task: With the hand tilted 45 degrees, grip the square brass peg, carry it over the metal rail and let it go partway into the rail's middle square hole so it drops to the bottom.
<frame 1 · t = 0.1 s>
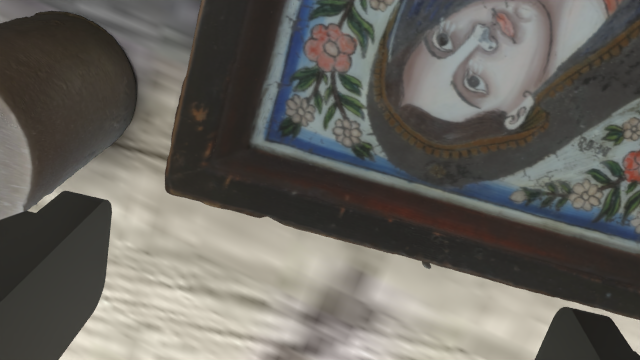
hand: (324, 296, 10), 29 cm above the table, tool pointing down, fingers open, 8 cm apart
pillar candle: (69, 86, 40), on the table
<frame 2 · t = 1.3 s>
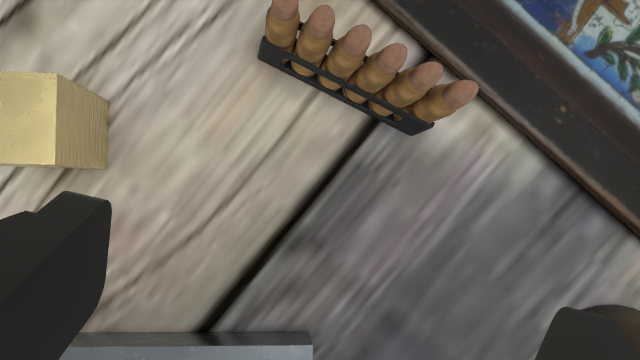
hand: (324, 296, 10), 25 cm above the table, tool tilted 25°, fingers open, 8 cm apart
brass peg: (72, 134, 35), on the table
ammunition clip: (341, 85, 36), on the table
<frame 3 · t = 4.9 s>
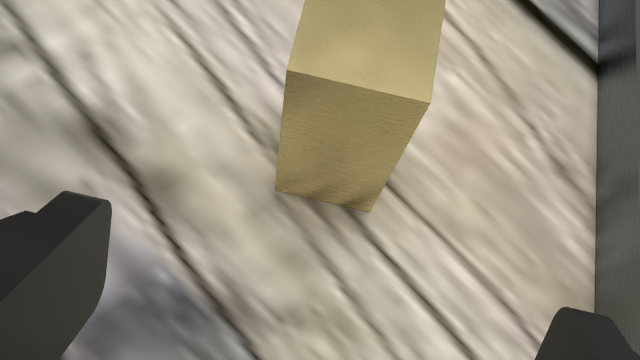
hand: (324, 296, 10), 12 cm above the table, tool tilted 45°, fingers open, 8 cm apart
brass peg: (331, 158, 25), on the table
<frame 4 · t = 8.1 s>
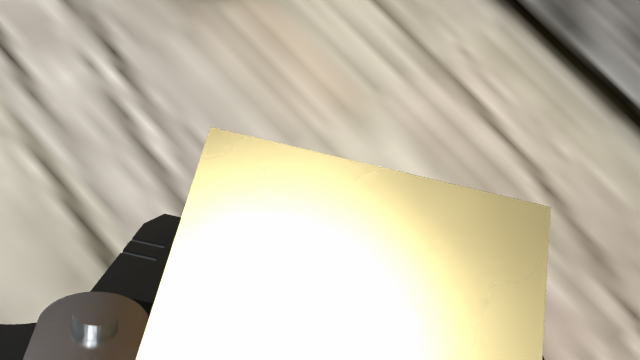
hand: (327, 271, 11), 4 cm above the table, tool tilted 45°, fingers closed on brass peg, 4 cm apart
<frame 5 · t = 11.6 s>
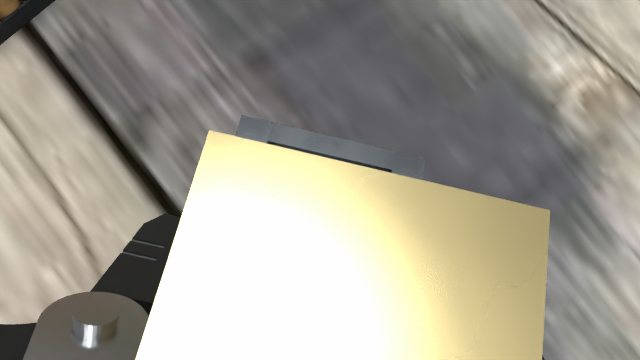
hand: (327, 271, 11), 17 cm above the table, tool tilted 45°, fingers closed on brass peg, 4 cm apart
when the fingers open (5 cm above the table, at t = 15.4 s): brass peg stays where it is, resting in rack rail.
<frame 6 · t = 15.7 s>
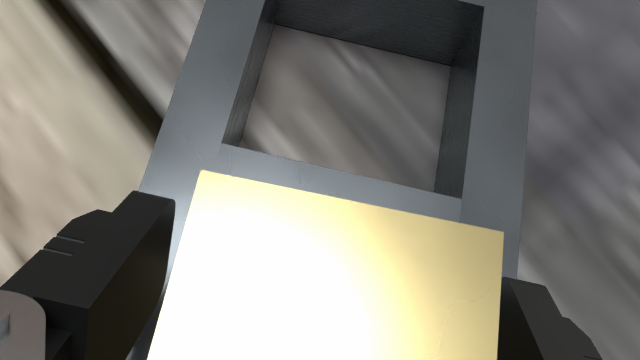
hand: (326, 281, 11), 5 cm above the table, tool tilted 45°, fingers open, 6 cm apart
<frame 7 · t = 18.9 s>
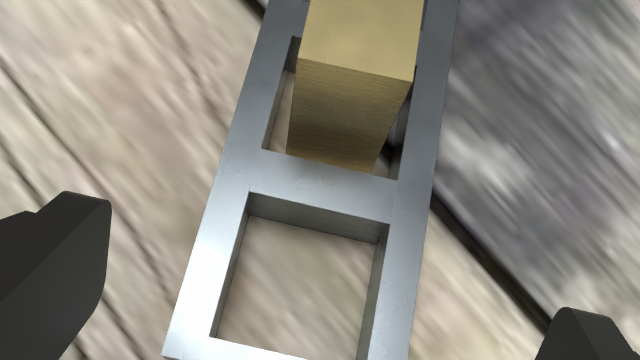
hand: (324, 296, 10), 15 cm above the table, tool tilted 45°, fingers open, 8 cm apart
brass peg: (332, 136, 29), resting in rack rail
rack rail: (334, 135, 29), on the table
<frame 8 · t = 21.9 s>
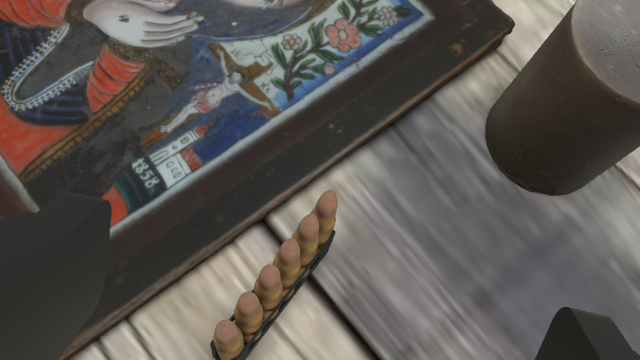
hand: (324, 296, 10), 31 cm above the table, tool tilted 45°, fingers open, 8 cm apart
pillar candle: (542, 141, 48), on the table
religious icon: (170, 11, 50), on the table
ammunition clip: (273, 301, 41), on the table
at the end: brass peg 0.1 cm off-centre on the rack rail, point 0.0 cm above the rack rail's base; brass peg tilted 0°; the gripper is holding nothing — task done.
